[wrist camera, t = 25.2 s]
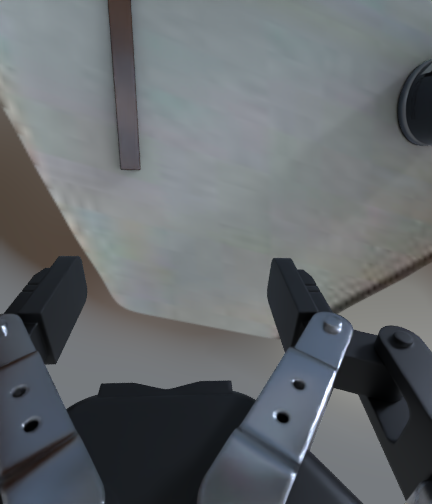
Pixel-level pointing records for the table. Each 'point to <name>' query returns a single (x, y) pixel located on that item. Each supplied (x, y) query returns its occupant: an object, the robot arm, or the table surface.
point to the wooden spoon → (124, 82)
